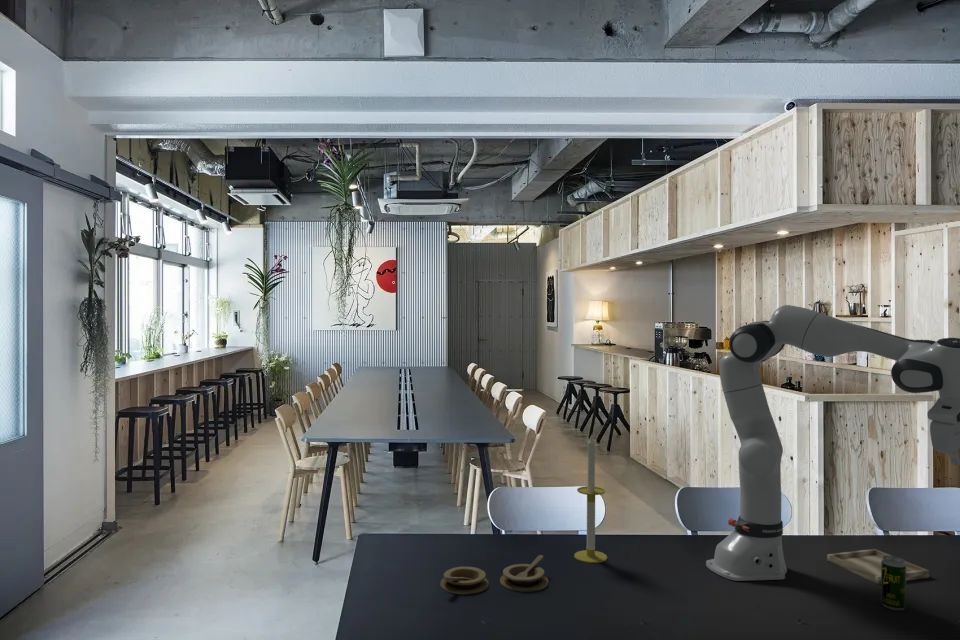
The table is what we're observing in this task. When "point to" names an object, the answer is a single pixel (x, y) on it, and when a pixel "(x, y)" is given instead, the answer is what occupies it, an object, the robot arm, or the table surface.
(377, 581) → the table surface
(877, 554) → the birch tray
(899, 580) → the beer can
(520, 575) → the tableware set
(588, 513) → the candle
